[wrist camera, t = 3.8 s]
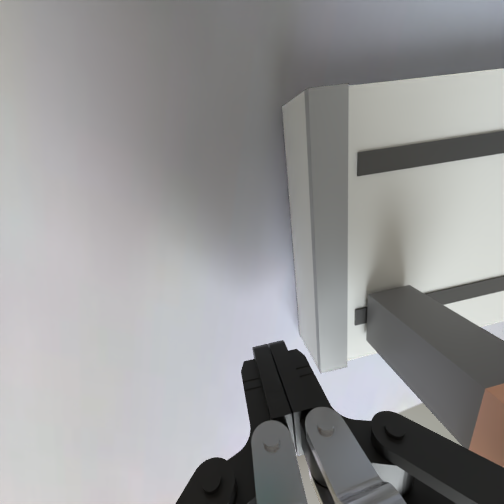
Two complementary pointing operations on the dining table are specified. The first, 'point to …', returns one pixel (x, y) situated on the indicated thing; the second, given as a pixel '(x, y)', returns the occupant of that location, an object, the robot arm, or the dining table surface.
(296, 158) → the console
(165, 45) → the dining table surface
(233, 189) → the dining table surface
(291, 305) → the dining table surface
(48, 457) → the dining table surface
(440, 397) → the terracotta fader
